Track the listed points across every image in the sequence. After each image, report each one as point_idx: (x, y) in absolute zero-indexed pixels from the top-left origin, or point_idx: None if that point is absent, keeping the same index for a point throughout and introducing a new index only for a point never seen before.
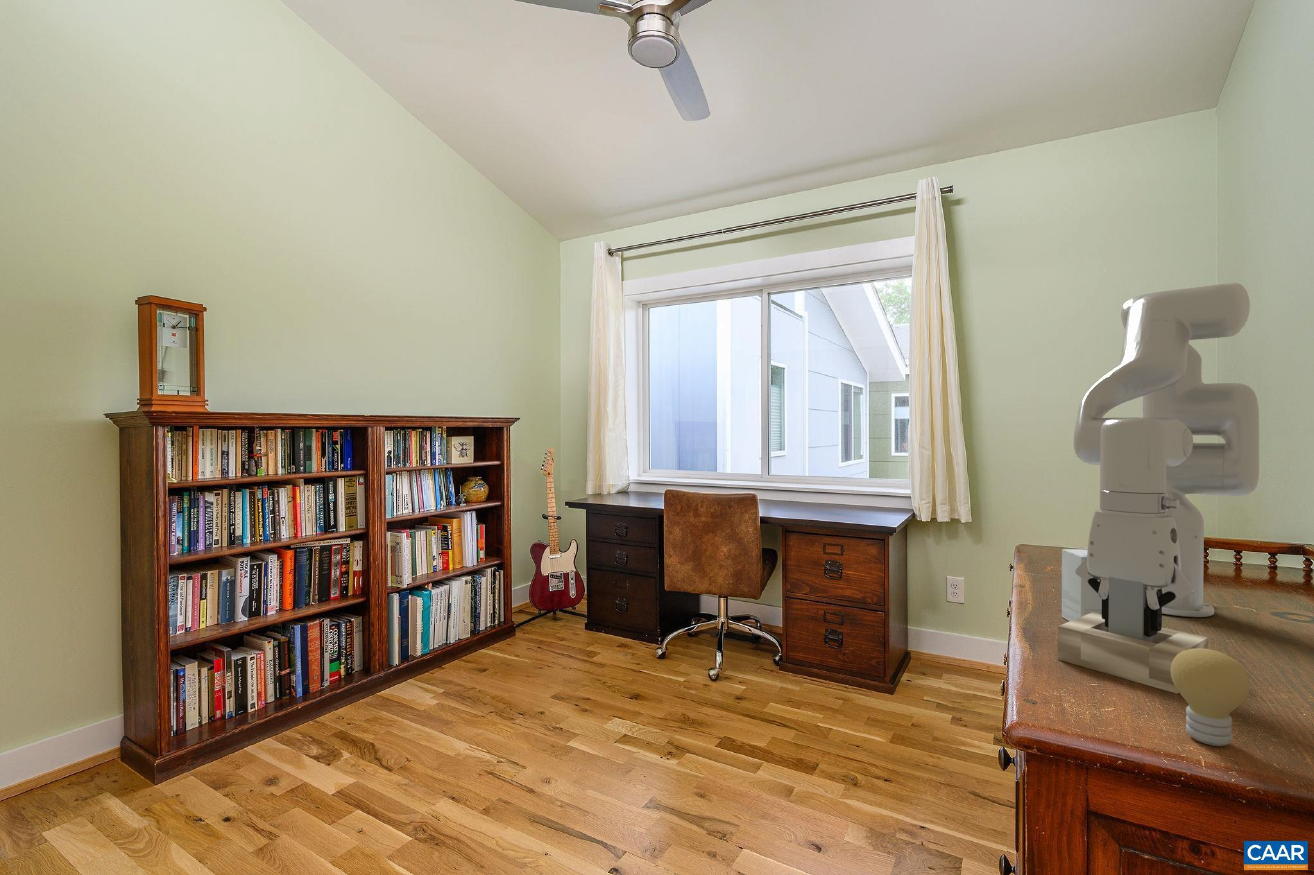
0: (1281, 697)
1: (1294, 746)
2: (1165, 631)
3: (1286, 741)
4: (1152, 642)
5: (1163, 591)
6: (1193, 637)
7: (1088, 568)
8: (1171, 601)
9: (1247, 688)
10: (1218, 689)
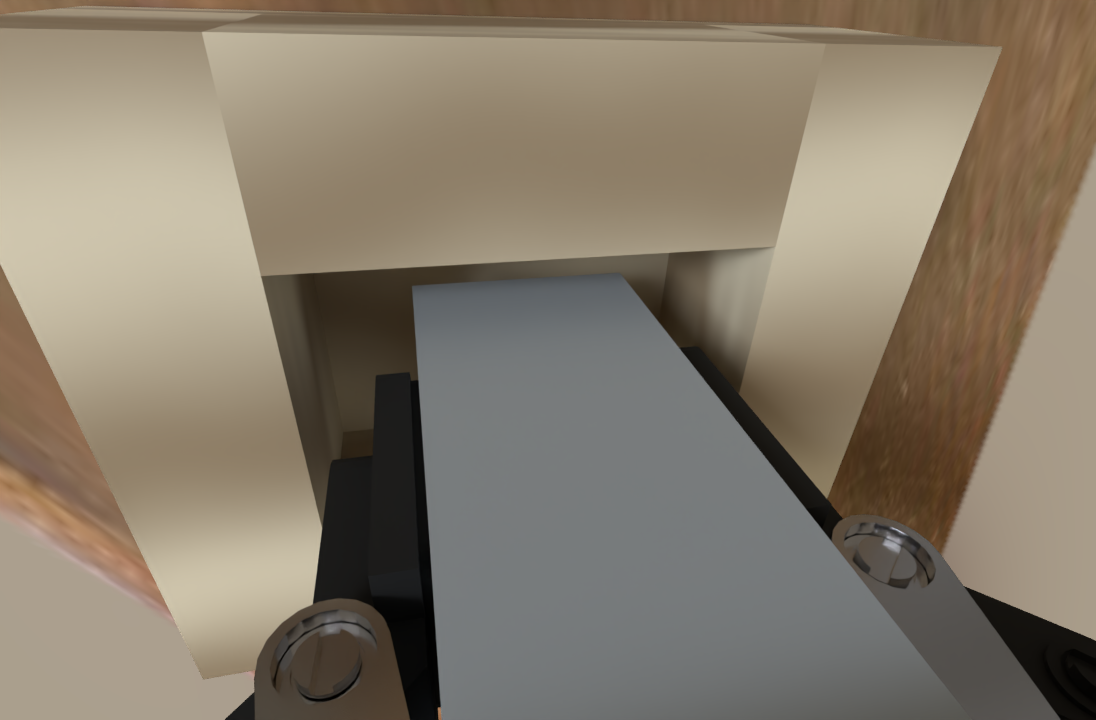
0: (1046, 125)
1: (942, 519)
2: (721, 176)
3: (934, 509)
4: (628, 288)
5: (1034, 686)
6: (899, 162)
7: None
8: (1004, 606)
9: None
10: None
